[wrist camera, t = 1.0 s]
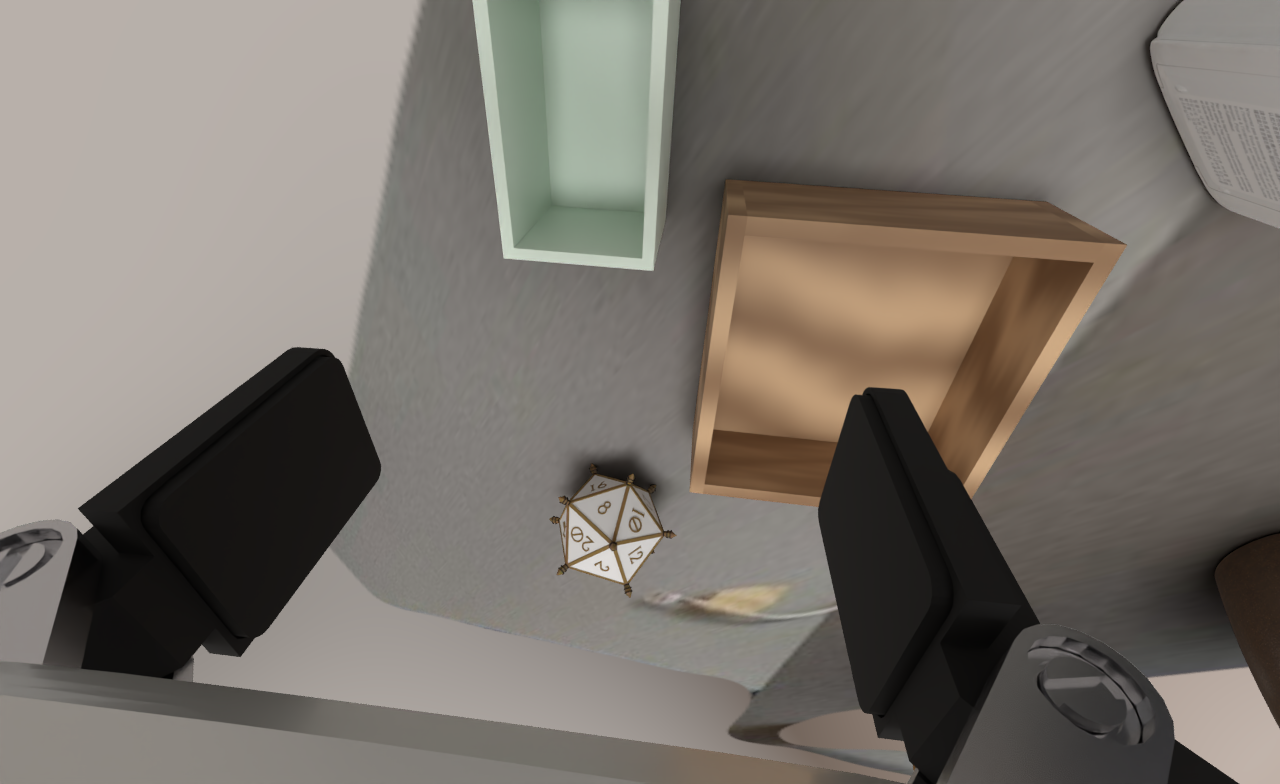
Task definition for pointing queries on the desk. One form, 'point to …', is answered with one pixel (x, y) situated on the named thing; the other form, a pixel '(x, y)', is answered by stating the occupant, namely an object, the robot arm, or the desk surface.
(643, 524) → the game die
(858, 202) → the big crate
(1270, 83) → the photo printer
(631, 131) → the box
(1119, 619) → the desk surface
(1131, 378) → the desk surface
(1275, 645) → the plant pot
